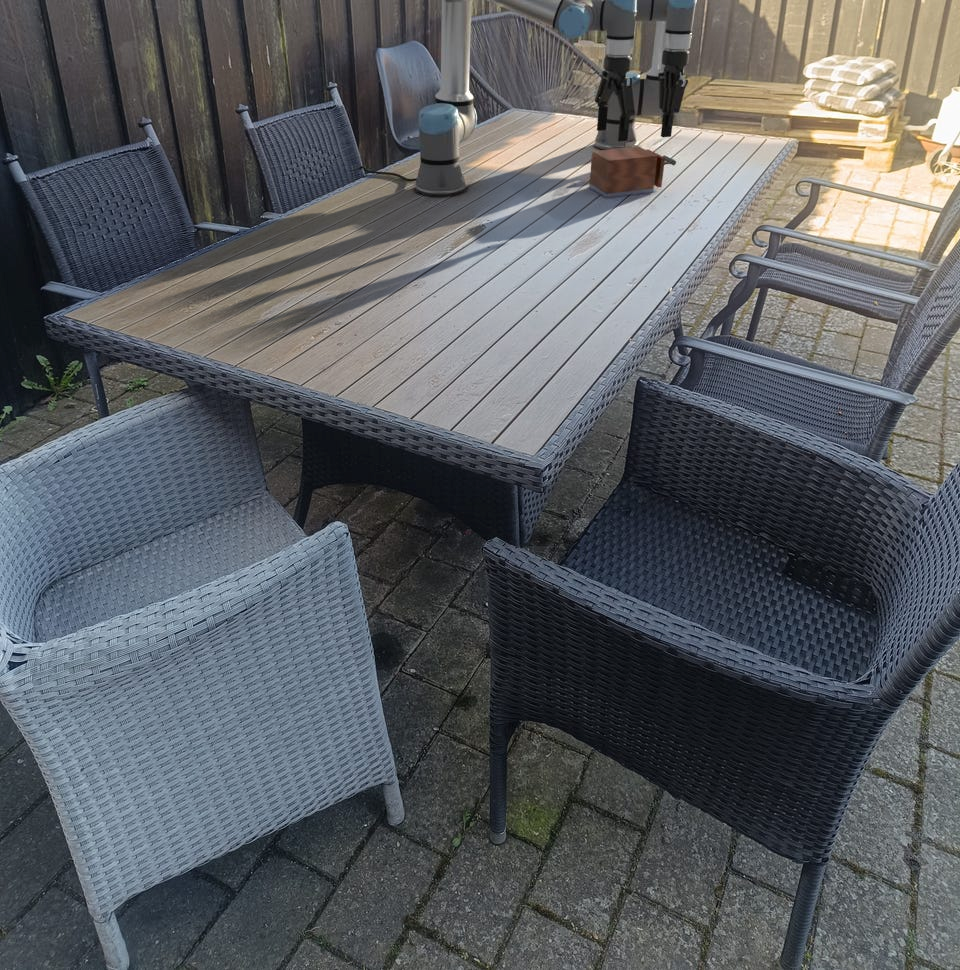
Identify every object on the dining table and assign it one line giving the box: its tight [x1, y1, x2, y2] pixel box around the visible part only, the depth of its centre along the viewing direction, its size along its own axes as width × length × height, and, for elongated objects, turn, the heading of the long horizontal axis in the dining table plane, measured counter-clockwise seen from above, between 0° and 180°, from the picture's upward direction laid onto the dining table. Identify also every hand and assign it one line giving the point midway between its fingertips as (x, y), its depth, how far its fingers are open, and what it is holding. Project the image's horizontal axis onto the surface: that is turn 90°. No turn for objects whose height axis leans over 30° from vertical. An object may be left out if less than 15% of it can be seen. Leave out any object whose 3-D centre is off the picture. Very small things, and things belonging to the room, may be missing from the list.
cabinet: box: [588, 146, 657, 198], centre depth 256 cm, size 16×11×11 cm
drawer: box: [646, 149, 677, 188], centre depth 257 cm, size 20×10×9 cm, turn 110°
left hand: (611, 135), depth 248 cm, fingers open, 13 cm apart
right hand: (665, 136), depth 254 cm, fingers closed
